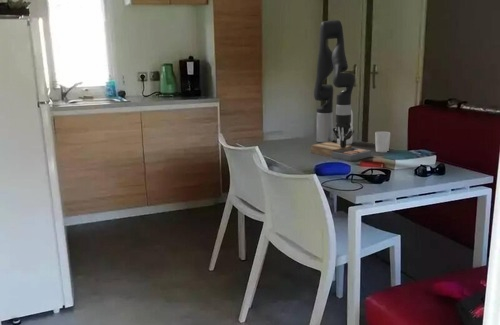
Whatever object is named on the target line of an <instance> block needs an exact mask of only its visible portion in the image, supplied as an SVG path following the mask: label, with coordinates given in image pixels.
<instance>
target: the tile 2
mask: <svg viewBox="0 0 500 325" xmlns="http://www.w3.org/2000/svg"><path fill="white" fill-rule="evenodd" d="M362 149H363V148H359V149H357V150H353V151H354V152H358V153H361V152H365V151H367V150H368V149H365V150H362Z"/></svg>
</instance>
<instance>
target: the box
mask: <svg viewBox="0 0 500 325" xmlns="http://www.w3.org/2000/svg"><path fill="white" fill-rule="evenodd" d="M357 149H360V148H357V147H352V148H348V149H343V150H339V151H334V152H332V157H331V158H332V159H334V160H335V159H336V160H341V161H345V162H346V161H347V162H354V161H358V160H362V159H366V158H371V157H372V150H371V149H370V150H368V149H364V148H361V149H362V150H367V151H365V152H361V153H356V154H352V155H347V154H344V152H348V151H353V150H357Z"/></svg>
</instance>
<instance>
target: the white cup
mask: <svg viewBox="0 0 500 325" xmlns="http://www.w3.org/2000/svg"><path fill="white" fill-rule="evenodd" d="M390 142H391V132H390V131H384V130H383V131H375V132H374V144H375V152H377V153H388V152H387V151H390V150H389V149H390Z"/></svg>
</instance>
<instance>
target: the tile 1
mask: <svg viewBox="0 0 500 325" xmlns="http://www.w3.org/2000/svg"><path fill="white" fill-rule="evenodd" d="M356 153H358V152H354V151H348V152H344V154H347V155H352V154H356Z"/></svg>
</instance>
